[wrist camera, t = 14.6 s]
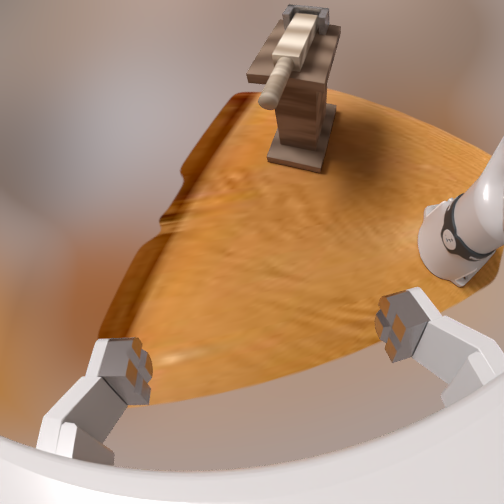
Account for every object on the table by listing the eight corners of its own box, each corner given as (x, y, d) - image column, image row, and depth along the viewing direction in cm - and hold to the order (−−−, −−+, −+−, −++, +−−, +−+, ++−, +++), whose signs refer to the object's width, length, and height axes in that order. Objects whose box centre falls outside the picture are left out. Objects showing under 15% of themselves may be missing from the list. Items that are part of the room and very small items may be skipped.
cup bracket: (325, 35, 38) (325, 18, 34) (284, 30, 40) (282, 14, 36) (329, 24, 39) (329, 8, 35) (290, 20, 41) (288, 4, 37)
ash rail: (283, 113, 34) (281, 97, 31) (254, 109, 35) (250, 93, 32) (318, 27, 39) (317, 15, 36) (297, 25, 40) (296, 13, 37)
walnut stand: (320, 173, 59) (324, 83, 34) (267, 161, 62) (246, 73, 37) (336, 110, 63) (340, 26, 38) (290, 102, 66) (280, 19, 41)
